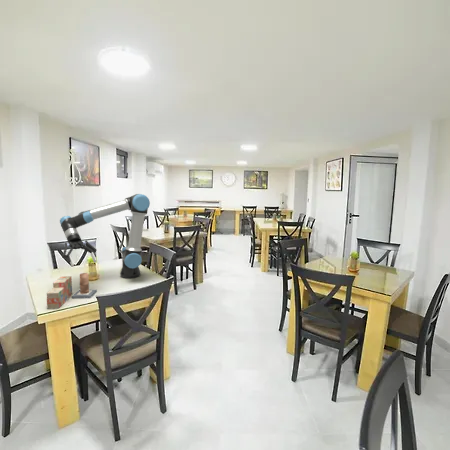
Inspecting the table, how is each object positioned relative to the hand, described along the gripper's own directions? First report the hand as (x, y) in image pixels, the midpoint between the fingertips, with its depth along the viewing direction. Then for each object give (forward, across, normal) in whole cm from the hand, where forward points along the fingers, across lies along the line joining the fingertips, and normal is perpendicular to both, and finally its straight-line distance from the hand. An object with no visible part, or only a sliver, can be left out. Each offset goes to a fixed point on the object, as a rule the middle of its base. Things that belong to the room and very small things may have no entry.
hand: (84, 263), depth 171 cm
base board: (+13, 0, -17) cm, 21 cm away
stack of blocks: (+13, +14, -17) cm, 26 cm away
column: (+12, 0, -15) cm, 20 cm away
